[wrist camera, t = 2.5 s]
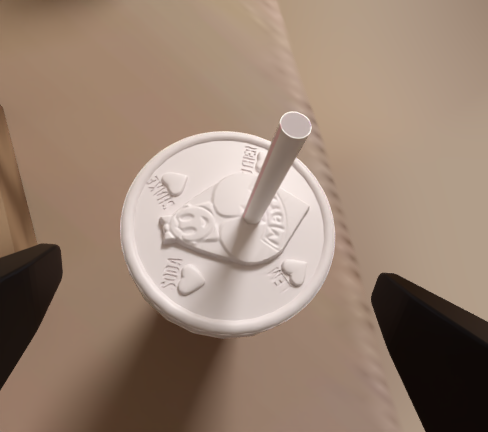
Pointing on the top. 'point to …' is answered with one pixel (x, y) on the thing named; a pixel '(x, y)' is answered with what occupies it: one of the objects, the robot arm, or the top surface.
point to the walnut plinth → (12, 200)
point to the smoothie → (229, 231)
